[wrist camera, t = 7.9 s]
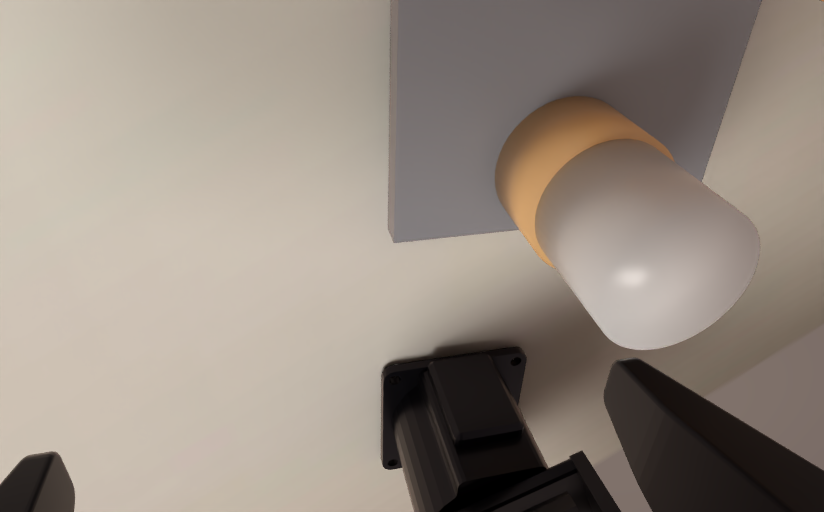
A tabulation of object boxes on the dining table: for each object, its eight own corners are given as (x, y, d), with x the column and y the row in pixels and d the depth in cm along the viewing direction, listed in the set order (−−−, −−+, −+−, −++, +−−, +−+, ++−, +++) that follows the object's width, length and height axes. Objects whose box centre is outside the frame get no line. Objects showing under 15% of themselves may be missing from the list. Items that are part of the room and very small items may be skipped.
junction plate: (676, 199, 25) (829, 325, 19) (387, 228, 23) (451, 387, 16) (845, -340, 16) (1250, -448, 10) (395, -393, 14) (545, -591, 7)
